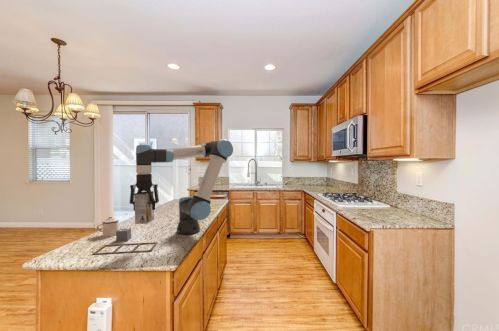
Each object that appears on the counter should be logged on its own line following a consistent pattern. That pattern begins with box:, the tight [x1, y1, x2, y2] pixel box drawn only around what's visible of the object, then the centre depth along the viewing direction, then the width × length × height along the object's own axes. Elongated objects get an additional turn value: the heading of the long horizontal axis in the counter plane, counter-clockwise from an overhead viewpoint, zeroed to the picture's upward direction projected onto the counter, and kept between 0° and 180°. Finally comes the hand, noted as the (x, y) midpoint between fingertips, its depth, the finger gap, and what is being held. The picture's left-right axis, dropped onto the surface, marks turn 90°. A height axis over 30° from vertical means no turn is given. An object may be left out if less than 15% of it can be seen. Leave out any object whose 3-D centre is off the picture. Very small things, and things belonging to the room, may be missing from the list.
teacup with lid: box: [96, 215, 120, 238], centre depth 148 cm, size 12×9×12 cm
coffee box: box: [134, 190, 155, 225], centre depth 125 cm, size 9×6×16 cm
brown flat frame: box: [92, 241, 158, 256], centre depth 124 cm, size 28×13×1 cm, turn 98°
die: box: [115, 227, 132, 243], centre depth 138 cm, size 6×6×6 cm
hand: (144, 216), depth 125 cm, fingers closed on coffee box, 7 cm apart
